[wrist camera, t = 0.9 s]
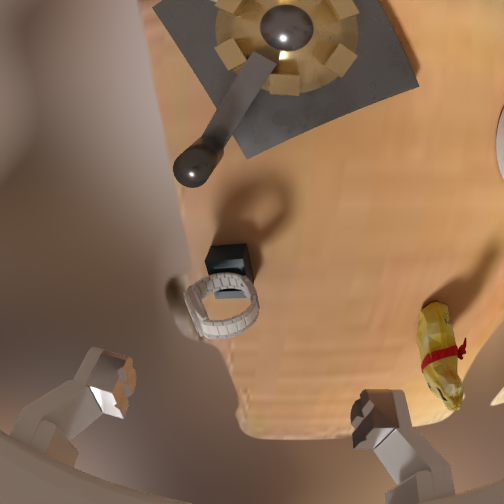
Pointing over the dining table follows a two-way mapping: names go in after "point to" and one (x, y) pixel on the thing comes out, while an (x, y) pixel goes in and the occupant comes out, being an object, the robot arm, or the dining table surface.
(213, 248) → the watch
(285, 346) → the dining table surface
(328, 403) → the dining table surface
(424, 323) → the chocolate bunny
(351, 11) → the ball knob lever
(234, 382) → the dining table surface
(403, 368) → the dining table surface
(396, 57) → the plate
